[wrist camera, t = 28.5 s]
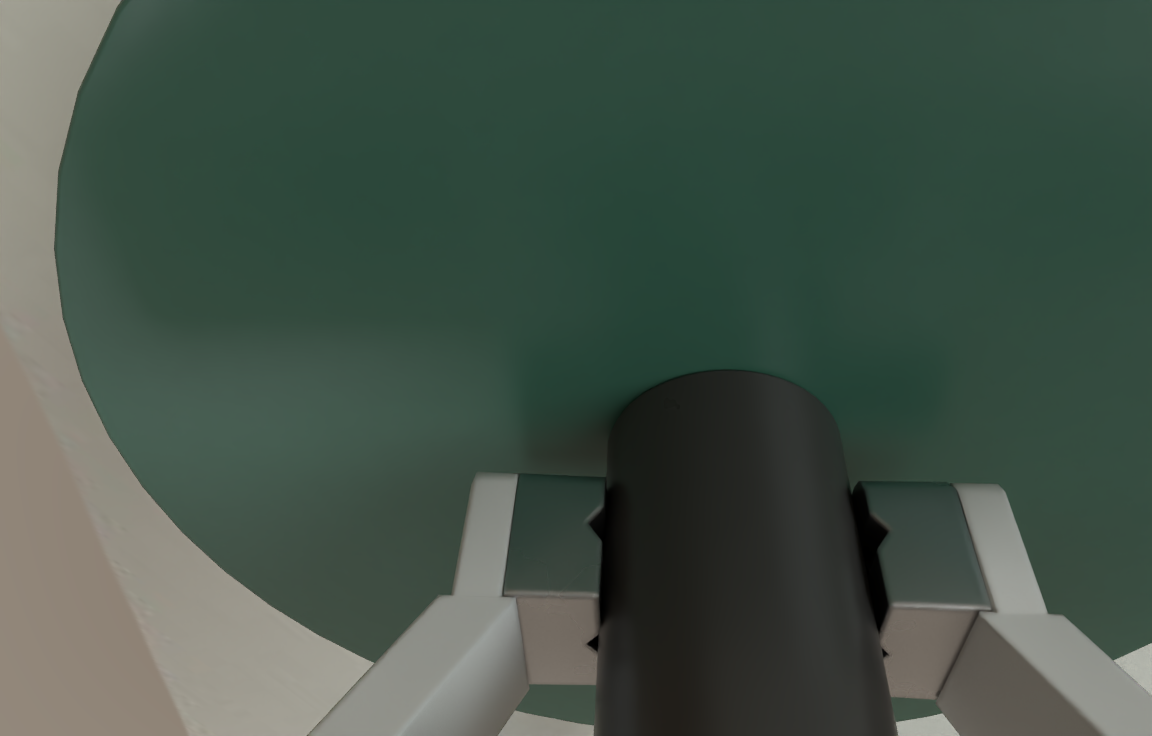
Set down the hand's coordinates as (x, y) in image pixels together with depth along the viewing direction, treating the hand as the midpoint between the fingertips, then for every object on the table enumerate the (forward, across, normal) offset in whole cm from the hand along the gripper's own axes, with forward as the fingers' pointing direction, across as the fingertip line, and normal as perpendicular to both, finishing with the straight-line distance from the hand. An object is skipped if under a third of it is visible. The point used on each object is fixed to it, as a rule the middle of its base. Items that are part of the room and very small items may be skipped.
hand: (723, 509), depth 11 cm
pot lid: (+2, 0, 0) cm, 2 cm away
